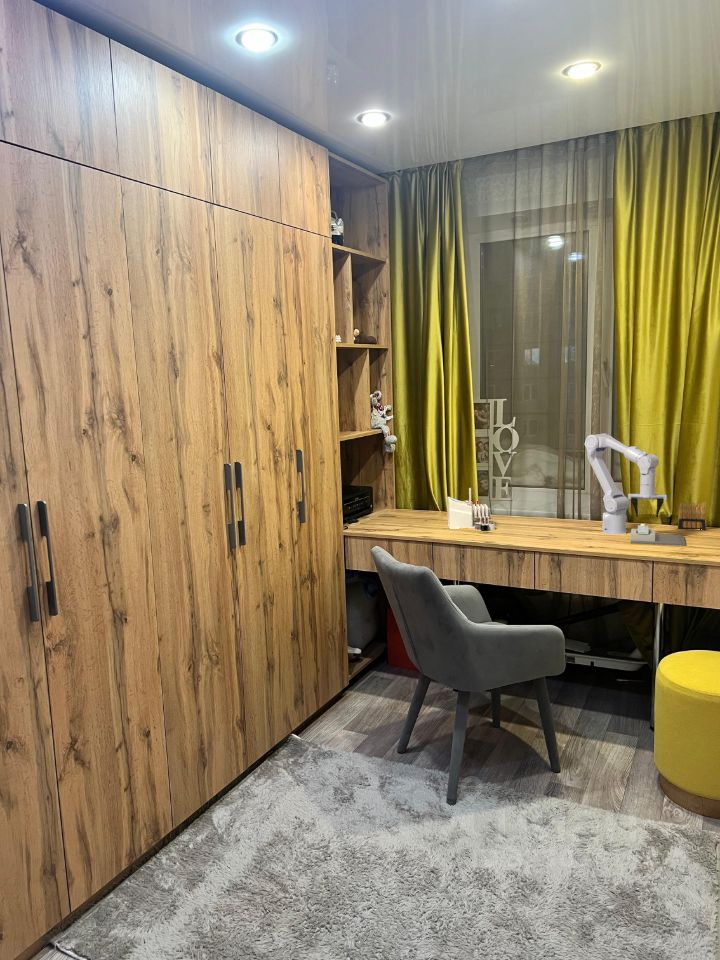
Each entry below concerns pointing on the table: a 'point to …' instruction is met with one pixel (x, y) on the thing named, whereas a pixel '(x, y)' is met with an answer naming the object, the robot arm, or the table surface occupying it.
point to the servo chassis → (656, 538)
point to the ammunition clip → (692, 517)
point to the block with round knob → (642, 529)
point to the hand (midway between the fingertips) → (646, 516)
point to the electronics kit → (468, 514)
